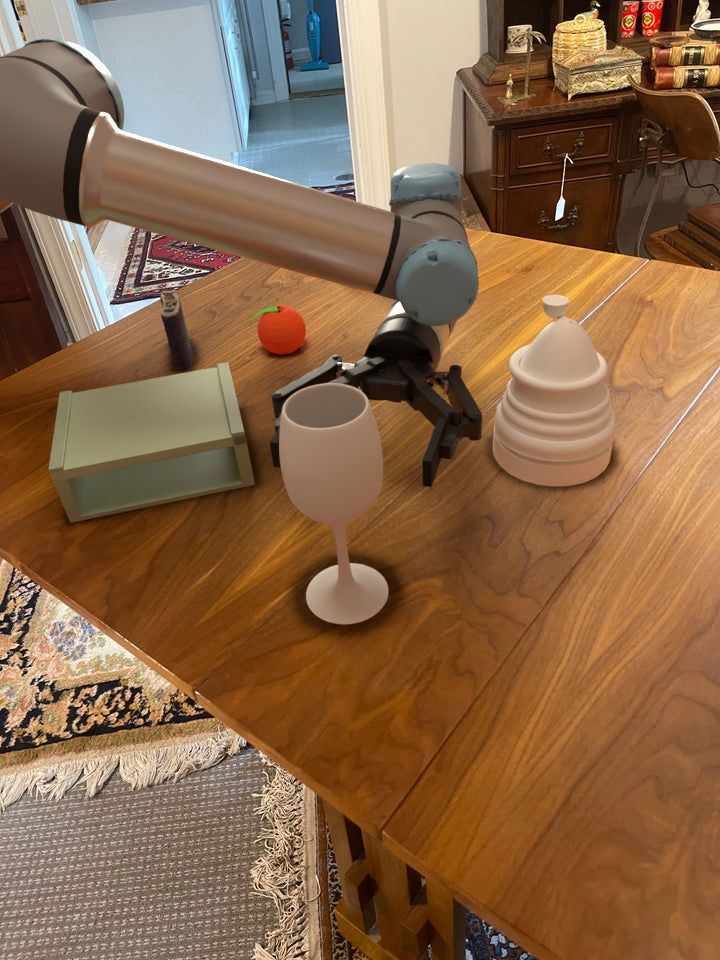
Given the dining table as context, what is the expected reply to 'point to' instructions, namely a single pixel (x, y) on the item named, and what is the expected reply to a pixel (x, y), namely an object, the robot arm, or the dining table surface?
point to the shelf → (148, 443)
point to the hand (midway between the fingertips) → (348, 464)
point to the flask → (176, 330)
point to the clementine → (281, 329)
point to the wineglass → (334, 488)
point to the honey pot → (555, 406)
